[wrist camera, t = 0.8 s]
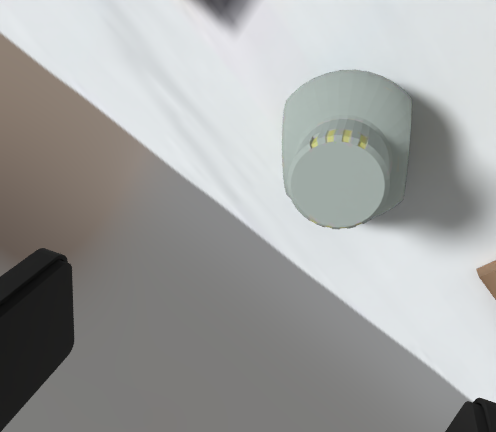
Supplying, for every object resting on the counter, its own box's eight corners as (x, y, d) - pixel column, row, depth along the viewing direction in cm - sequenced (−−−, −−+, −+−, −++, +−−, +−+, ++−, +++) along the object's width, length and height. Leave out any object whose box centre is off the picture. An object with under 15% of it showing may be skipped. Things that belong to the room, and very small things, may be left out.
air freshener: (397, 205, 34) (404, 273, 26) (296, 200, 37) (270, 261, 28) (411, 62, 30) (424, 86, 21) (293, 66, 32) (261, 90, 23)
